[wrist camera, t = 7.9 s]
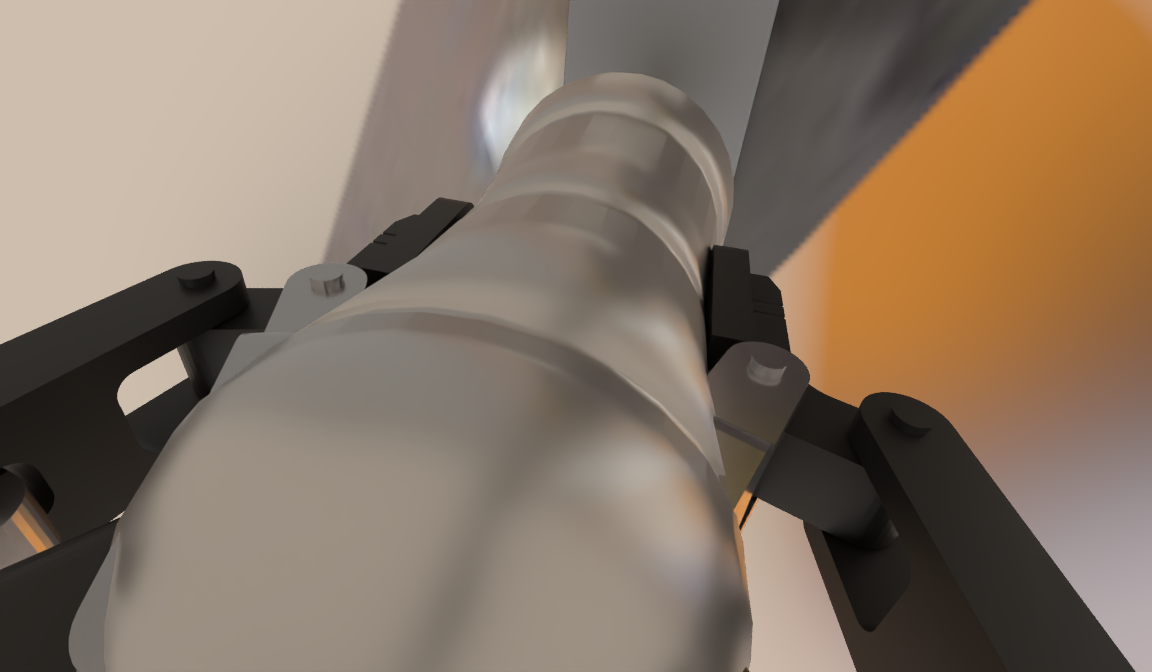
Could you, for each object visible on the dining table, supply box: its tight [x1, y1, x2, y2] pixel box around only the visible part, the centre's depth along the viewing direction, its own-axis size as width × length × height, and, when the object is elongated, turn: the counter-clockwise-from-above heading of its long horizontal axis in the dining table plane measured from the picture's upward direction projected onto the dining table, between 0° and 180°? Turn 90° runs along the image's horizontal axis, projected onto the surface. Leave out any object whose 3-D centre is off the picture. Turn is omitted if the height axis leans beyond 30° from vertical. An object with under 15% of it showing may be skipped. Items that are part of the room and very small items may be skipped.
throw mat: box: [564, 0, 779, 178], centre depth 26 cm, size 12×9×1 cm
